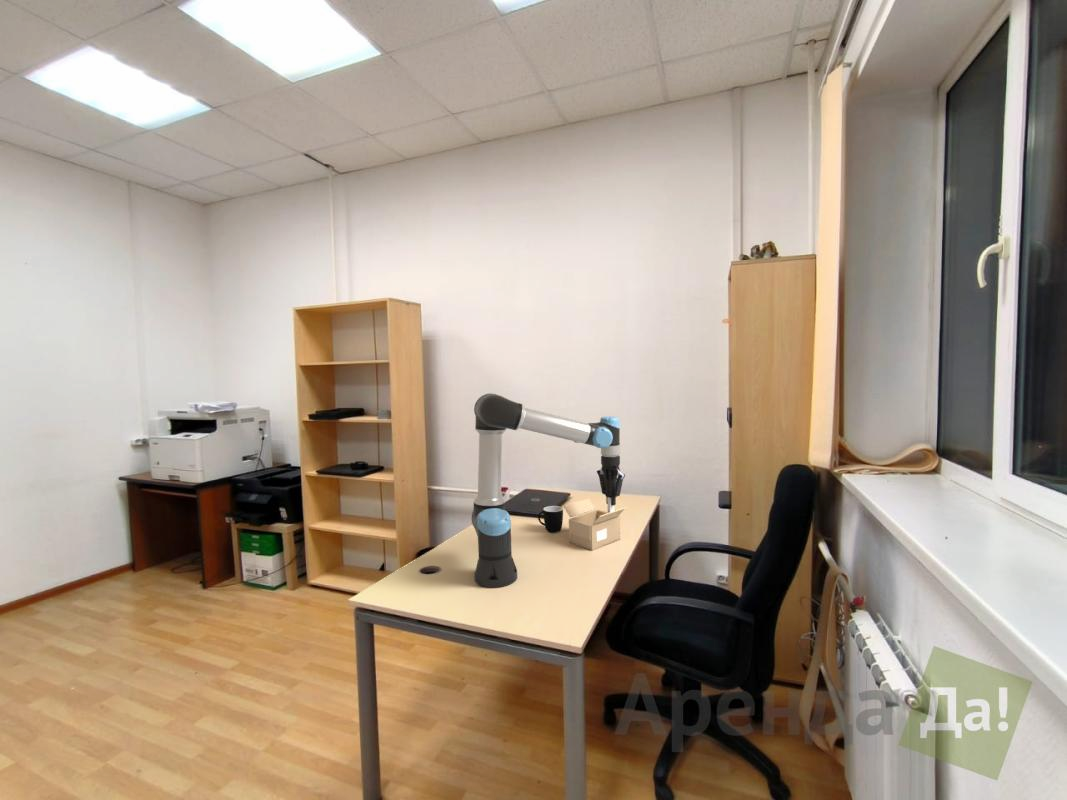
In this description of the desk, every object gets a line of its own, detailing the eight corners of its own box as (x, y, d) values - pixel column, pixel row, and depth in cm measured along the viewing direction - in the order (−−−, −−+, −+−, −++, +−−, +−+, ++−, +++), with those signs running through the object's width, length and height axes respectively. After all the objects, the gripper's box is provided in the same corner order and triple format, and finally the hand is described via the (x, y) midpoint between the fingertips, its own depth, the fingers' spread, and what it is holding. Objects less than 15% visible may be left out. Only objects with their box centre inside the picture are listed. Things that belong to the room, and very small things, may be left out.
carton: (591, 551, 186) (590, 526, 185) (568, 542, 196) (567, 519, 195) (621, 539, 198) (620, 515, 197) (598, 531, 208) (597, 509, 207)
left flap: (564, 505, 199) (563, 506, 199) (570, 517, 196) (570, 517, 196) (589, 498, 209) (589, 498, 209) (595, 508, 206) (595, 509, 206)
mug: (566, 528, 214) (565, 506, 213) (559, 535, 206) (558, 512, 205) (542, 525, 219) (541, 504, 218) (534, 531, 211) (533, 509, 210)
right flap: (592, 523, 186) (593, 524, 186) (599, 515, 183) (599, 516, 183) (618, 514, 197) (618, 515, 196) (624, 507, 193) (625, 508, 193)
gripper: (629, 455, 185) (629, 514, 186) (604, 451, 195) (605, 507, 196) (616, 458, 180) (617, 518, 182) (592, 454, 190) (592, 511, 191)
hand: (611, 512), depth 189 cm, fingers closed
